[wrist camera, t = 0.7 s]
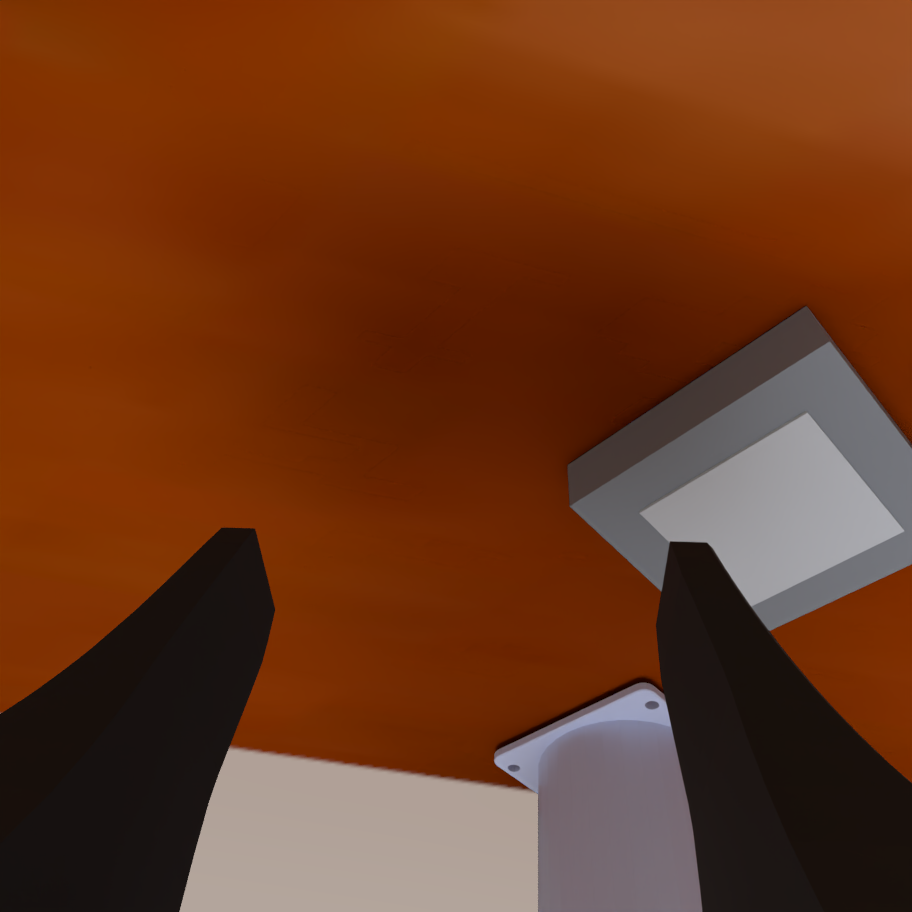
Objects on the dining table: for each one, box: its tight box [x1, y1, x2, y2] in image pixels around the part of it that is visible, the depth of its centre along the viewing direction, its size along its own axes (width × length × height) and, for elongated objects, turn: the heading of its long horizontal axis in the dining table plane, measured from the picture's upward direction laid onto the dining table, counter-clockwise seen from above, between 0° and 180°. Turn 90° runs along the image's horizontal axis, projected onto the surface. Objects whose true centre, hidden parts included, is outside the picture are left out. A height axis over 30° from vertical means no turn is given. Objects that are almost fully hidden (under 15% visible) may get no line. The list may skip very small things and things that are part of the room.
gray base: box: [568, 306, 912, 631], centre depth 23 cm, size 8×8×2 cm
